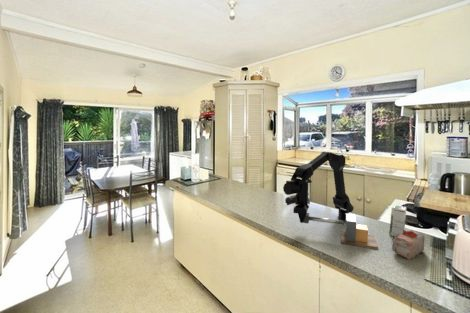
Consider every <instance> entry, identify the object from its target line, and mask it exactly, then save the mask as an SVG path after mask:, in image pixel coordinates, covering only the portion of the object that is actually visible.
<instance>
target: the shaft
mask: <svg viewBox="0 0 470 313" xmlns="http://www.w3.org/2000/svg"><path fill="white" fill-rule="evenodd" d="M311 221H313V222H320V223H328V224H334V225H335V224H336V225H343V226H345V222H344V221H343V220H338V219H334V218H333V219H332V218H326V217H317V216H310V212H307V214H306V216H305V218H304V221H303V223H302V224H309V223H310V222H311Z"/></svg>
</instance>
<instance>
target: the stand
mask: <svg viewBox="0 0 470 313" xmlns="http://www.w3.org/2000/svg"><path fill="white" fill-rule="evenodd" d="M356 224H357V219H356V214H355V213H353V214H352V213H349V214H346V222H344V231H343V230H340V244H341V245H349V246H355V247H360V248H362V247H363V248H368V249H374V250H379V246H378V244H377V240H376V238H375V235H373V234H368V242H367V243H366V242H360V241H356Z"/></svg>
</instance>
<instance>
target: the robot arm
mask: <svg viewBox="0 0 470 313" xmlns="http://www.w3.org/2000/svg"><path fill="white" fill-rule="evenodd" d="M326 162H328V165H329V167H330V168H331V170H332V172H333V178H334V180H333V181H334V186H335V195H334V196H333V197H332V204H333V205H334V209H338V216H336V218H337V219H336V220H343V221H344V223H345V222H346V214H350V213H352V212H353V211H354V209H355V208H354V206H353V204H352V203H351V200H350V197H349V196H348V194H347V193H346V186H345V185H346V184H345V177H344V168H345V166H346V157H345V155H343V154H336V153H334V152H331V151H322V152H321V153H320V154H319V155H317V156H316V157H314V159H312V160H311V161H309V162H308V163H305V164H301V165H300V166H297V167H296V168H295V170H294V173H293V174H292V176H291V178H290V180H286V181H285V183H284V184H283V186H282V188H283V192H284V194H285V195H287V196H286V197H285V204H286V205H287V206H289V205H293V204H295V205H294V206H293V214H297V215H298V219H299V223H301V224H304V223H303V221H304V218H305V216H306V214H307V213H309V212H308V210H309V209H310V204H311V199H310V198H309V196H310V194H309V185H310V183H311V184H312V183H313V181H312V180H311V177H312V176H313V175H314V172H315V171H316V170H317V169H318V168H320V167H321V166H322V165H324V164H325V163H326Z"/></svg>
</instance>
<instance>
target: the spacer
mask: <svg viewBox="0 0 470 313" xmlns="http://www.w3.org/2000/svg"><path fill="white" fill-rule="evenodd" d="M368 235H369V229H368V225H366V224H360V223H356V241H360V242H366V243H367V242H368Z"/></svg>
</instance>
